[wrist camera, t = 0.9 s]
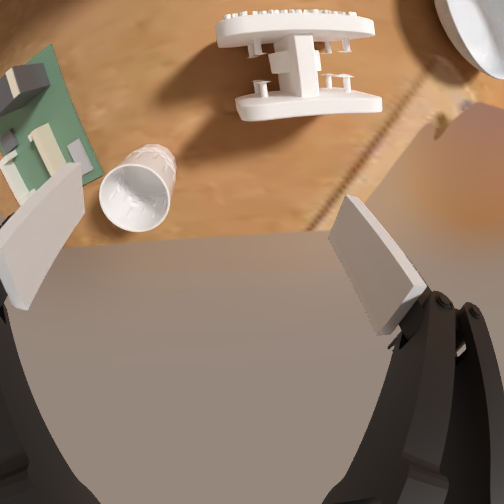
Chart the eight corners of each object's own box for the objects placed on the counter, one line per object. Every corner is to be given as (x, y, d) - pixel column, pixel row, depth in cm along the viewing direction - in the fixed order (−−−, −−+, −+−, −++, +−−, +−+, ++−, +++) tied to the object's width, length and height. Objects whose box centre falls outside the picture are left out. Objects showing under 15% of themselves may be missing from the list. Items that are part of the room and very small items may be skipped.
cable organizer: (229, 110, 31) (233, 127, 22) (215, 33, 24) (213, 13, 15) (342, 99, 31) (389, 115, 22) (335, 26, 24) (382, 14, 15)
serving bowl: (481, -17, 13) (506, -17, 8) (499, 76, 26) (525, 85, 20) (400, -47, 15) (427, -56, 9) (430, 67, 27) (461, 73, 22)
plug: (15, 86, 21) (-16, 96, 16) (43, 62, 21) (11, 67, 15) (23, 107, 24) (-8, 120, 18) (50, 85, 23) (19, 92, 18)
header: (6, 156, 27) (-6, 165, 25) (48, 122, 27) (35, 129, 24) (28, 199, 32) (17, 210, 30) (70, 171, 32) (59, 181, 29)
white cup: (182, 138, 32) (169, 163, 24) (181, 193, 37) (171, 233, 29) (124, 139, 31) (94, 165, 23) (127, 193, 36) (104, 231, 28)
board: (-15, 105, 21) (-26, 109, 19) (51, 43, 20) (41, 43, 18) (35, 213, 35) (27, 222, 32) (104, 173, 33) (97, 181, 31)
